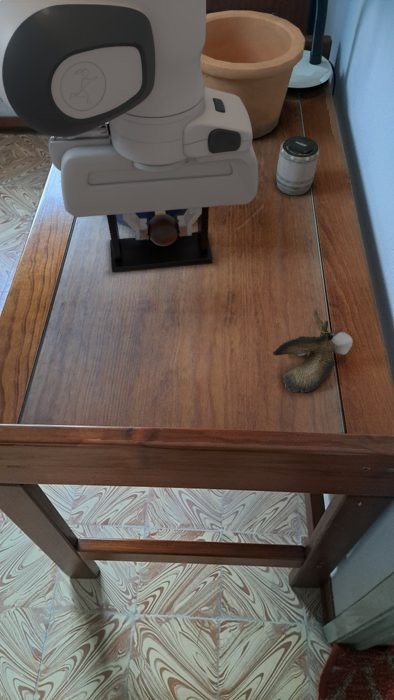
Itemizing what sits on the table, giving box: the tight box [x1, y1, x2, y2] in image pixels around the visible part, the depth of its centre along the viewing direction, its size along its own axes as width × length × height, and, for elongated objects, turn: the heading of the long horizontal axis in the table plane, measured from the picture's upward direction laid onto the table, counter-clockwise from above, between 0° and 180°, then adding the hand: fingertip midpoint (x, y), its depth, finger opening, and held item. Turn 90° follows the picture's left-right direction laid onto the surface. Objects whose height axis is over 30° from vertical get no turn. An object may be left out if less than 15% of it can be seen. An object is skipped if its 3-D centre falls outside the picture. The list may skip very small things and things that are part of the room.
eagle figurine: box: [272, 308, 354, 394], centre depth 64 cm, size 8×7×9 cm
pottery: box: [200, 9, 306, 140], centre depth 93 cm, size 22×22×14 cm
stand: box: [106, 207, 213, 273], centre depth 72 cm, size 15×6×14 cm, turn 98°
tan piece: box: [148, 210, 179, 246], centre depth 66 cm, size 10×25×4 cm, turn 8°
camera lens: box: [276, 135, 321, 196], centre depth 84 cm, size 6×6×8 cm
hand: (163, 234), depth 58 cm, fingers closed on tan piece, 3 cm apart
